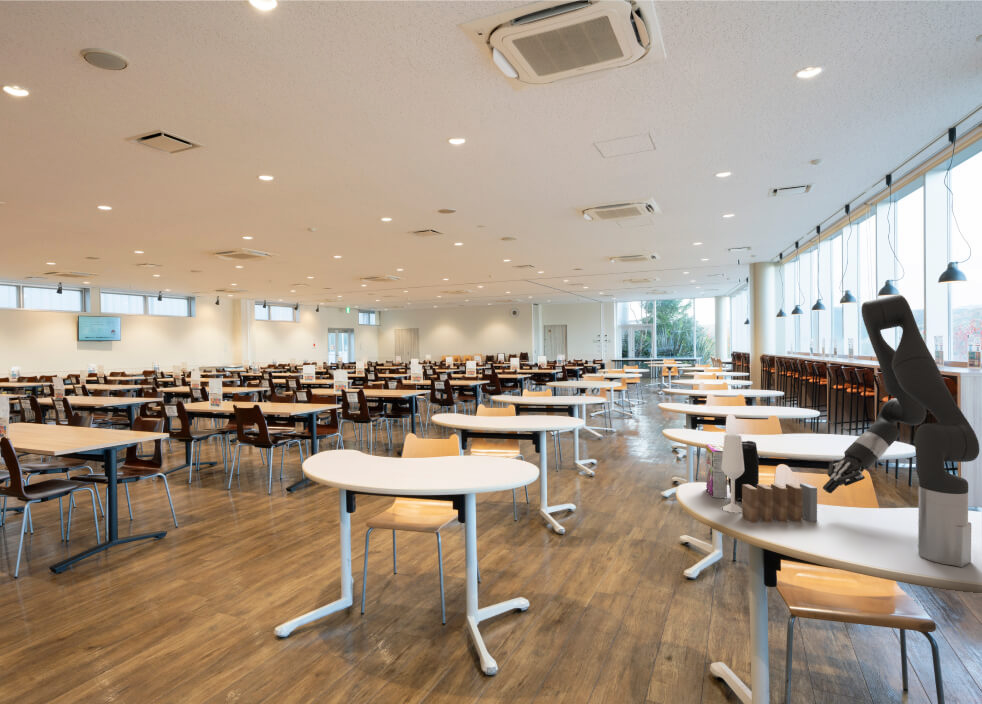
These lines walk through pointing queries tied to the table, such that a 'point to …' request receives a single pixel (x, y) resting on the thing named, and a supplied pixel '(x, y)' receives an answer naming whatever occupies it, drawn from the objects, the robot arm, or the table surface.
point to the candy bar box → (715, 471)
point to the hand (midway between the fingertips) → (826, 490)
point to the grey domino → (809, 502)
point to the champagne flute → (732, 465)
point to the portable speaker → (747, 469)
